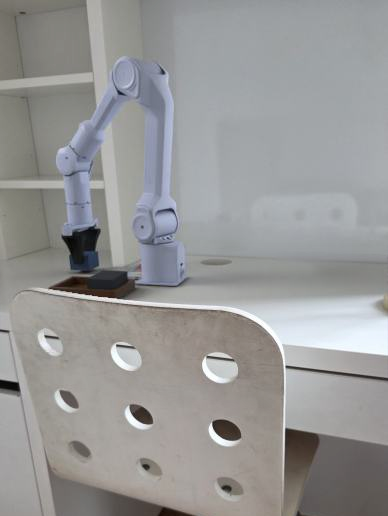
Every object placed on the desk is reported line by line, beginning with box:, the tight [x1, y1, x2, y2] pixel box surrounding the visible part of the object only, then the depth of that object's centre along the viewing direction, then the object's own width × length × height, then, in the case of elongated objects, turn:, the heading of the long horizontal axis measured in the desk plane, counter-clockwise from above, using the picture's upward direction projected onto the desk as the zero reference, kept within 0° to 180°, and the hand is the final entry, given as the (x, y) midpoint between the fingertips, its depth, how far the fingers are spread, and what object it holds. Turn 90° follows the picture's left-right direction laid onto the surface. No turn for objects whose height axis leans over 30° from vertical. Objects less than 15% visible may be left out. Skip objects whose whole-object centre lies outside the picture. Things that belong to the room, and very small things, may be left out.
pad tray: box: [48, 275, 136, 300], centre depth 108 cm, size 15×10×2 cm
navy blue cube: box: [68, 250, 100, 272], centre depth 126 cm, size 5×5×4 cm
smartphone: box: [127, 263, 142, 280], centre depth 125 cm, size 7×1×15 cm
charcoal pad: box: [86, 269, 128, 290], centre depth 107 cm, size 6×8×3 cm
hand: (84, 261), depth 127 cm, fingers closed on navy blue cube, 5 cm apart
